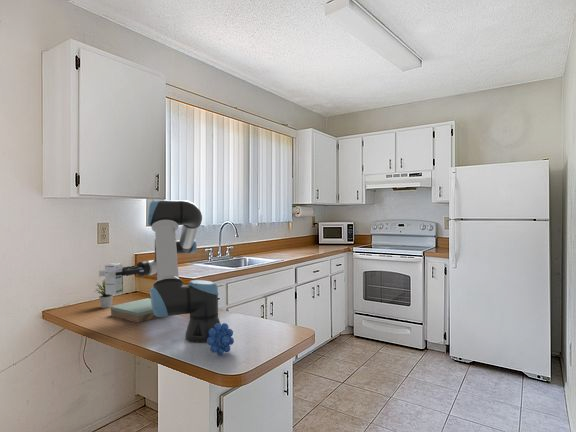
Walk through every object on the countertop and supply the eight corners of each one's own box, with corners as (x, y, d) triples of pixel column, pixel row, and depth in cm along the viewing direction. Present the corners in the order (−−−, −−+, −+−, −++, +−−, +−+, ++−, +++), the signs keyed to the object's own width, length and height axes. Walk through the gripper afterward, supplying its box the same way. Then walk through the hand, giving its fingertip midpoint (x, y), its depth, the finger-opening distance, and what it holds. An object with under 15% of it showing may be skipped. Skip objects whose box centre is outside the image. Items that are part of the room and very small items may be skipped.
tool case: (148, 306, 206) (148, 301, 206) (176, 312, 192) (175, 306, 192) (111, 315, 188) (111, 309, 188) (138, 322, 174) (138, 316, 174)
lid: (148, 300, 206) (147, 285, 206) (176, 306, 192) (176, 290, 192) (110, 309, 188) (110, 292, 188) (138, 316, 174) (138, 298, 174)
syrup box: (115, 294, 174) (115, 264, 174) (104, 294, 175) (104, 264, 175) (123, 292, 179) (122, 263, 179) (112, 292, 180) (112, 262, 180)
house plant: (88, 306, 208) (88, 277, 208) (114, 302, 217) (114, 275, 217) (93, 311, 197) (92, 281, 197) (120, 307, 205) (120, 278, 205)
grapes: (215, 363, 124) (214, 328, 124) (203, 358, 129) (202, 324, 129) (241, 353, 133) (240, 320, 133) (229, 349, 137) (228, 317, 137)
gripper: (158, 276, 186) (115, 284, 167) (135, 273, 198) (93, 280, 179) (158, 262, 186) (115, 267, 167) (135, 260, 198) (92, 265, 179)
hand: (103, 274), depth 173 cm, fingers closed on syrup box, 7 cm apart
